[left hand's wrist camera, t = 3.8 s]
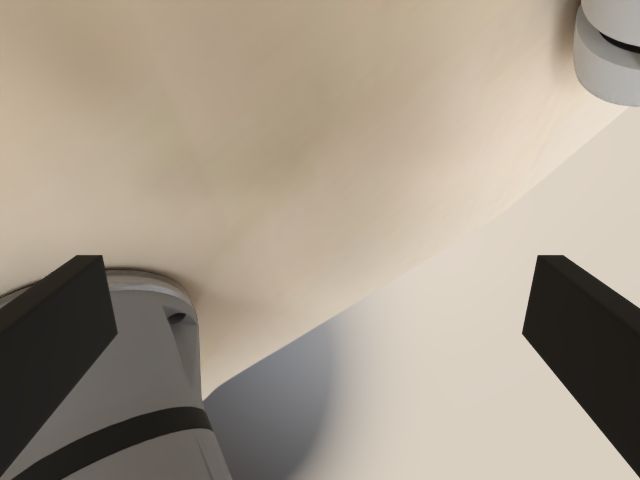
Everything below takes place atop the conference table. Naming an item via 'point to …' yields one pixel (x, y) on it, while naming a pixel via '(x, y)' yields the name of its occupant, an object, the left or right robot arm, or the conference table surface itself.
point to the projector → (609, 50)
